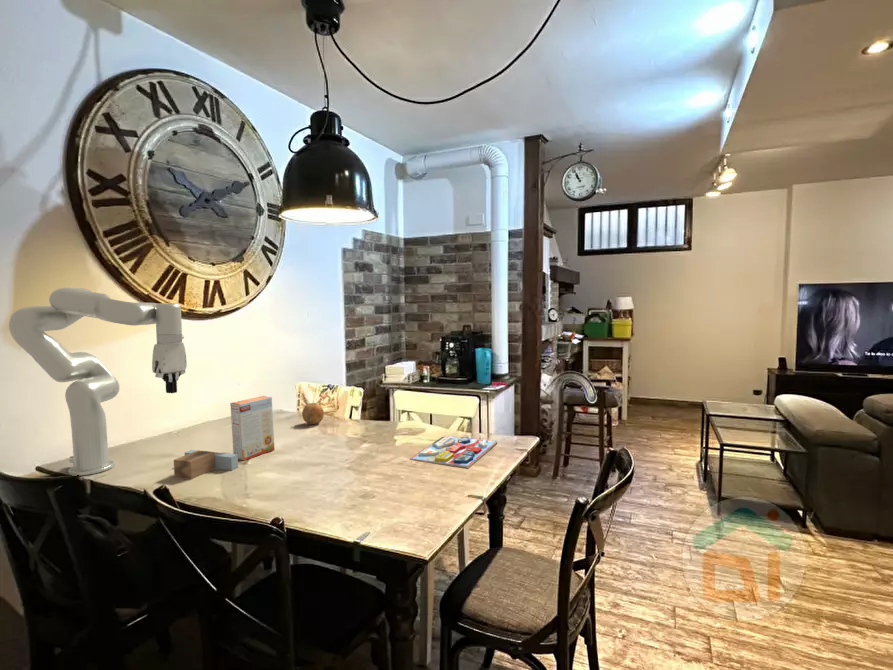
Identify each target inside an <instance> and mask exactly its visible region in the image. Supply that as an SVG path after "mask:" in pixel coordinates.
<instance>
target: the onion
mask: <svg viewBox="0 0 893 670" xmlns="http://www.w3.org/2000/svg"><path fill="white" fill-rule="evenodd" d="M301 413H302V414H301V415H302V419H303V421H304V422H305V423H307V424H308V425H316V424H319V423H320V422H321V421H322V420H323V418H324V415H325V411H324V409H323V407H322V406H321V405H320V404H319V403H317V402H310V403H307V404H306V405H304V408H302V412H301Z"/></svg>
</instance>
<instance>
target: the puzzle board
mask: <svg viewBox="0 0 893 670" xmlns="http://www.w3.org/2000/svg"><path fill="white" fill-rule="evenodd" d="M497 444H498V441H497V440H493V439H492V440H491V439H485V438H482V439H481V438H474V437H469V436H468V435H467V436H453V435H443V436H442V437H440V438H438V439H437V440H435V441H434V442H432V443H431V445H429V446H428V447H426V448H423V449H421V450H420V451H418V453H416V454H415V455H413V456H412V457H410V458H409V460H410V461H417V462H423V463H430V464H436V465H443V466H444V465H445V466H451V467H456V468H457V467H458V468H463V469H470V468H471V467H472V466H473V465H474V464H476V463H477V462H478V461H479V460H480V459H481V458H483V456H484V455H486V454H487V453H488V452H489V451H490V450H492V449H493V448H494V447H495V446H497Z"/></svg>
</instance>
